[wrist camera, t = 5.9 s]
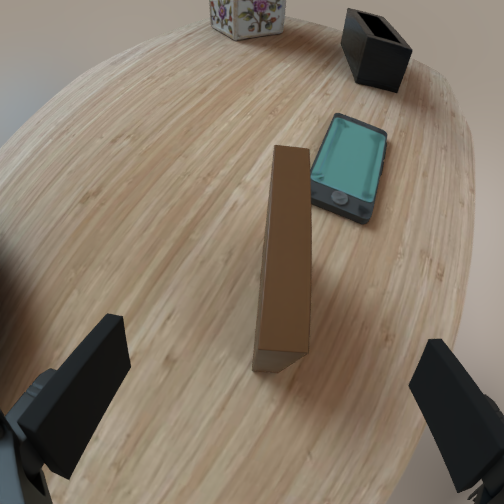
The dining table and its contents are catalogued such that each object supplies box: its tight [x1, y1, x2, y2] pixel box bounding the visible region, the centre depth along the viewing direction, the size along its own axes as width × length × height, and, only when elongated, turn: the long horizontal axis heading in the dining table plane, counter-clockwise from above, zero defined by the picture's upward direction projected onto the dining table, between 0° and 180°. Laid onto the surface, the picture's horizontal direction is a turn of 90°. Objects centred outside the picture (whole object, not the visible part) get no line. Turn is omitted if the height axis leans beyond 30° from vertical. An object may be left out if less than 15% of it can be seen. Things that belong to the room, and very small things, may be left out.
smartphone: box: [310, 113, 387, 224], centre depth 31 cm, size 7×1×15 cm
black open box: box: [341, 8, 412, 93], centre depth 40 cm, size 18×8×9 cm, turn 175°
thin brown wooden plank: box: [252, 145, 312, 373], centre depth 19 cm, size 11×2×12 cm, turn 175°
